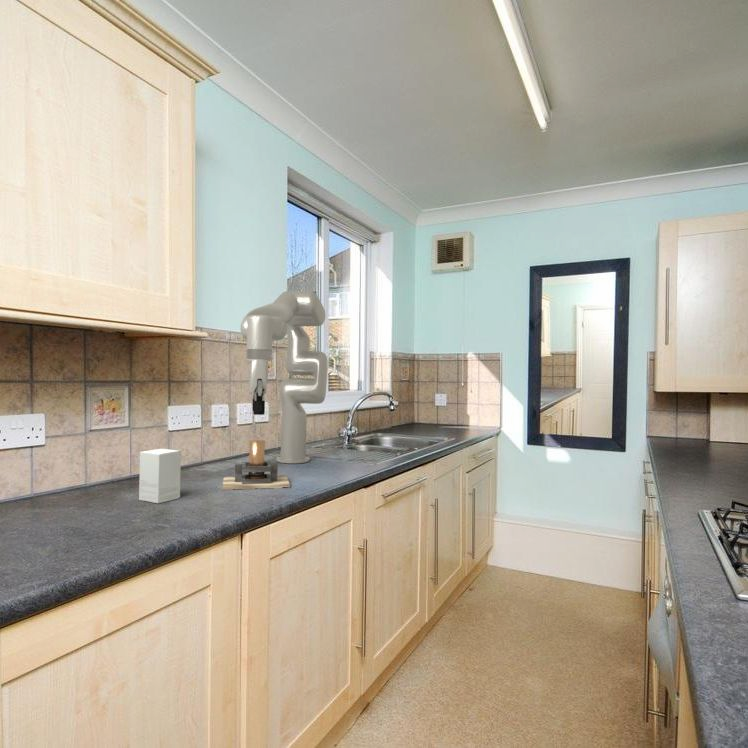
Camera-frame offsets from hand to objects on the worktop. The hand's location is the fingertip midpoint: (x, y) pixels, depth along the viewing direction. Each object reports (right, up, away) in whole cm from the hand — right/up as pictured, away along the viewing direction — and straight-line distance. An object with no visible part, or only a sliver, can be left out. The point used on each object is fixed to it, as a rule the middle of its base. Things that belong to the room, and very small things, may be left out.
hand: (258, 412), depth 152 cm
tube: (-1, -20, 0) cm, 20 cm away
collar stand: (-1, -21, 0) cm, 21 cm away
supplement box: (-21, -21, -20) cm, 36 cm away
